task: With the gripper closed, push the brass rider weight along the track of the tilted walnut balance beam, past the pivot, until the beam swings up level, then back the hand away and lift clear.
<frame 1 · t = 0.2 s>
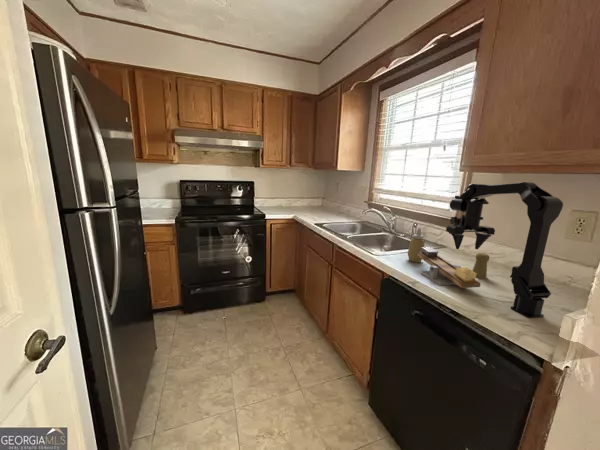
hand: (466, 249, 110), 14 cm above the worktop, tool pointing down, fingers open, 9 cm apart
counterweight: (428, 255, 123), point 7 cm above the worktop, tilted 8°, touching balance beam
cork: (478, 276, 119), on the worktop
squeeze bottle: (414, 261, 136), on the worktop
pivot stand: (443, 278, 113), on the worktop
balance beam: (445, 267, 112), point 5 cm above the worktop, hinge at -8.2°, touching counterweight, rider
rider: (463, 279, 103), point 4 cm above the worktop, tilted 8°, touching balance beam
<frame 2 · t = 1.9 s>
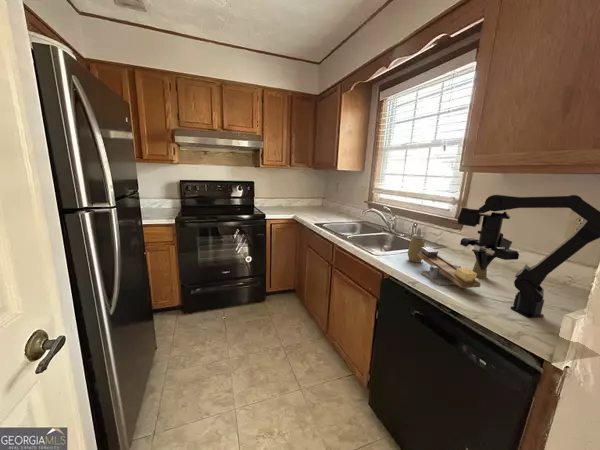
hand: (482, 269, 95), 11 cm above the worktop, tool pointing down, fingers closed
nothing on the worktop moved.
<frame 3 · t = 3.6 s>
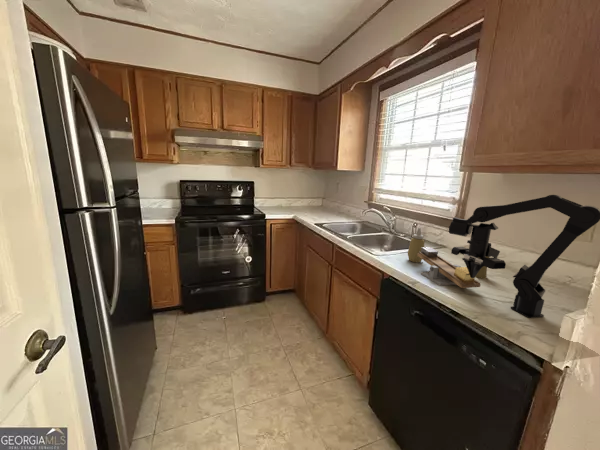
hand: (472, 277, 99), 6 cm above the worktop, tool pointing down, fingers closed
balance beam: (445, 267, 112), point 5 cm above the worktop, hinge at -8.2°, touching counterweight
rider: (463, 278, 103), point 4 cm above the worktop, tilted 8°, touching gripper
everything else where it was.
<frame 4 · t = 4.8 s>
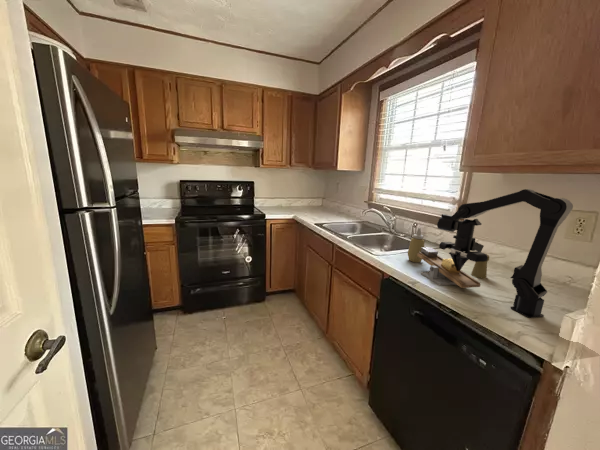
hand: (458, 270, 106), 7 cm above the worktop, tool pointing down, fingers closed
balance beam: (445, 267, 112), point 5 cm above the worktop, hinge at -8.0°, touching counterweight, rider
rider: (449, 269, 110), point 5 cm above the worktop, tilted 8°, touching balance beam, gripper
everything else where it was.
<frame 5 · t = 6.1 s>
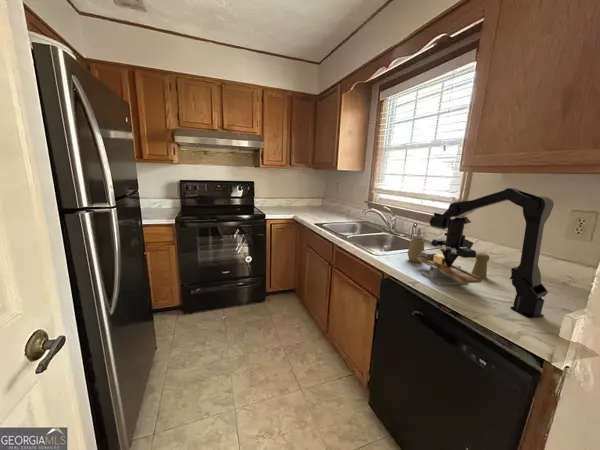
hand: (449, 266, 110), 6 cm above the worktop, tool pointing down, fingers closed
counterweight: (427, 258, 123), point 6 cm above the worktop, touching balance beam
balance beam: (445, 267, 112), point 5 cm above the worktop, hinge at 0.2°, touching counterweight, rider
rider: (441, 264, 115), point 6 cm above the worktop, touching balance beam, gripper
everything else where it was.
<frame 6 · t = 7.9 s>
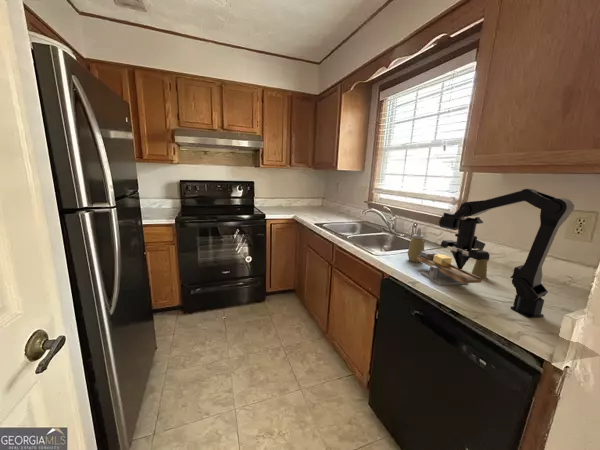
hand: (459, 268, 106), 7 cm above the worktop, tool pointing down, fingers closed
rider: (441, 264, 115), point 6 cm above the worktop, touching balance beam
everything else where it was.
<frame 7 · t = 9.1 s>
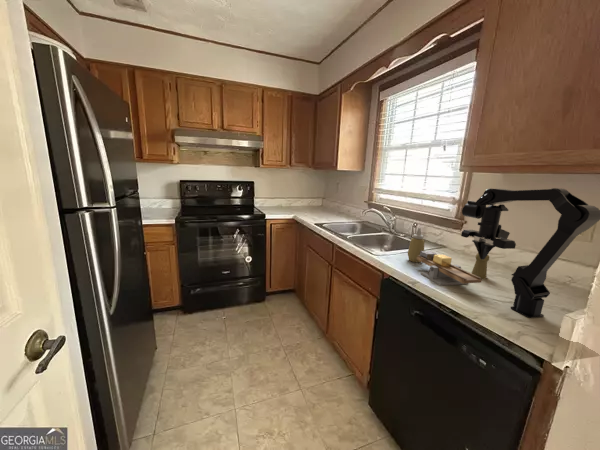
hand: (482, 259, 101), 13 cm above the worktop, tool pointing down, fingers closed
nothing on the worktop moved.
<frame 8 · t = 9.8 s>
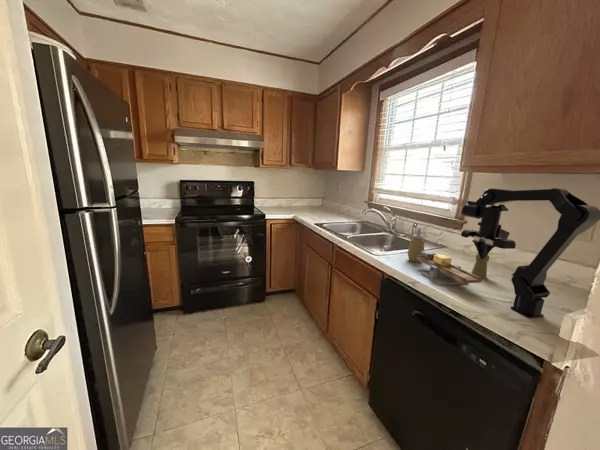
hand: (482, 259, 101), 13 cm above the worktop, tool pointing down, fingers closed
nothing on the worktop moved.
at the end: balance beam at +0° (first picture: -8°); rider inside the target area on the balance beam (1.1 cm from its centre), point 0.6 cm above the balance beam's base; rider moved 12.5 cm from its start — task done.
